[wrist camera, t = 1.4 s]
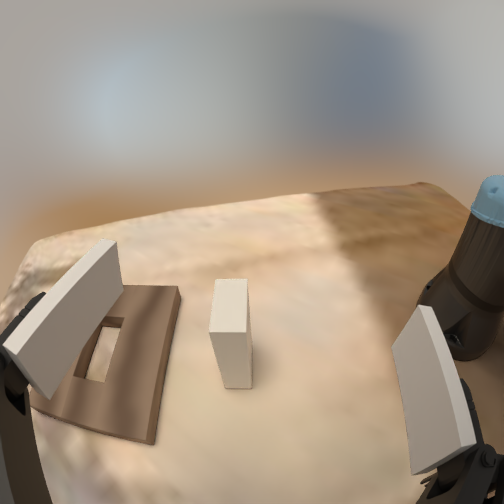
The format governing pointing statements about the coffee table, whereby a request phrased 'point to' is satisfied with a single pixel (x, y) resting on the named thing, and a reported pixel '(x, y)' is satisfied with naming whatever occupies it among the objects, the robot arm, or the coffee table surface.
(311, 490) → the coffee table surface
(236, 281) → the tall cream pillar
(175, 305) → the brown slotted base plate
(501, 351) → the coffee table surface
